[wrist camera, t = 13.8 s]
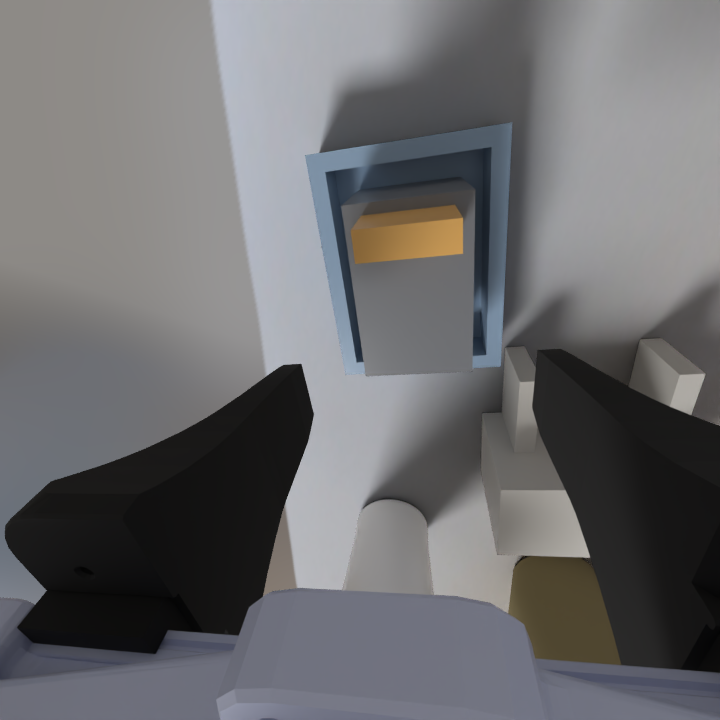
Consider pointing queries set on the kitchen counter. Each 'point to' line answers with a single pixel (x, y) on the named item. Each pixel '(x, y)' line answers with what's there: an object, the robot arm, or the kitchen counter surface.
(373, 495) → the kitchen counter surface
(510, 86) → the kitchen counter surface
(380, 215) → the gray block with tab
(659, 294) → the kitchen counter surface
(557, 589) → the squeeze bottle
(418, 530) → the drinking glass
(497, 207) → the tray
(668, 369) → the bay
